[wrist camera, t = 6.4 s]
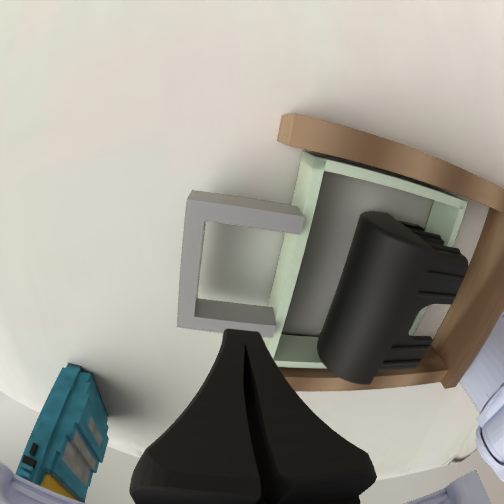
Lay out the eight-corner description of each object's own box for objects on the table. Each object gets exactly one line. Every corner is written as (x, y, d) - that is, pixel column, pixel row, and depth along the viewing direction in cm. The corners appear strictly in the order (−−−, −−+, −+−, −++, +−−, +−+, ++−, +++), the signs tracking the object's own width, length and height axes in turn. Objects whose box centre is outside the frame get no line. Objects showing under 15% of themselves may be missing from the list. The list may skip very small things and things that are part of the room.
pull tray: (443, 190, 19) (472, 204, 15) (382, 344, 24) (397, 371, 21) (202, 134, 17) (195, 137, 13) (182, 329, 22) (176, 361, 19)
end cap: (343, 200, 19) (389, 240, 13) (424, 219, 20) (480, 259, 14) (306, 323, 23) (326, 388, 17) (381, 327, 24) (413, 382, 18)
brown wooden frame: (504, 192, 19) (542, 211, 15) (434, 354, 26) (455, 386, 22) (281, 115, 17) (299, 113, 12) (235, 351, 24) (236, 398, 19)
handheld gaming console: (61, 359, 24) (5, 482, 10) (96, 367, 24) (48, 503, 11) (84, 414, 28) (53, 518, 14) (115, 421, 28) (90, 531, 15)
